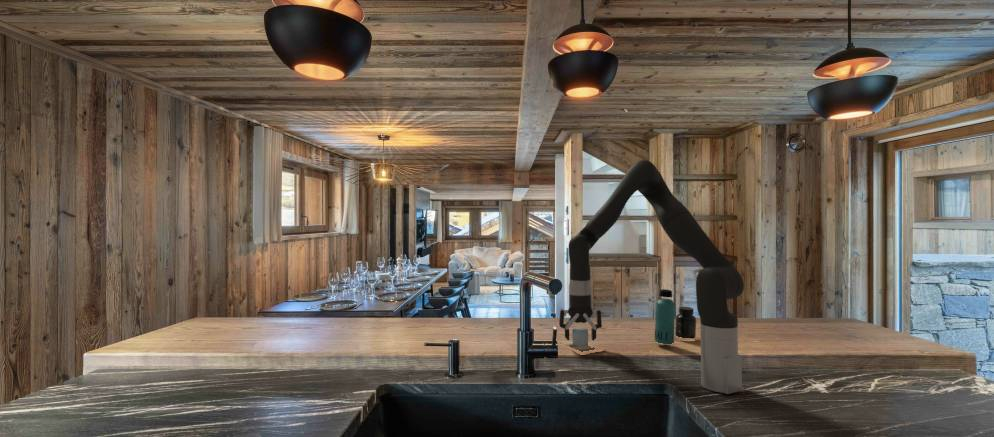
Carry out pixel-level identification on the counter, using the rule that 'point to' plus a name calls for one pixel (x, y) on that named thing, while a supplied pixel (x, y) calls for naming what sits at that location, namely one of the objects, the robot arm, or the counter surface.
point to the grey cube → (580, 337)
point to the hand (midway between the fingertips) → (580, 339)
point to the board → (577, 346)
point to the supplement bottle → (685, 323)
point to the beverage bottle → (665, 318)
